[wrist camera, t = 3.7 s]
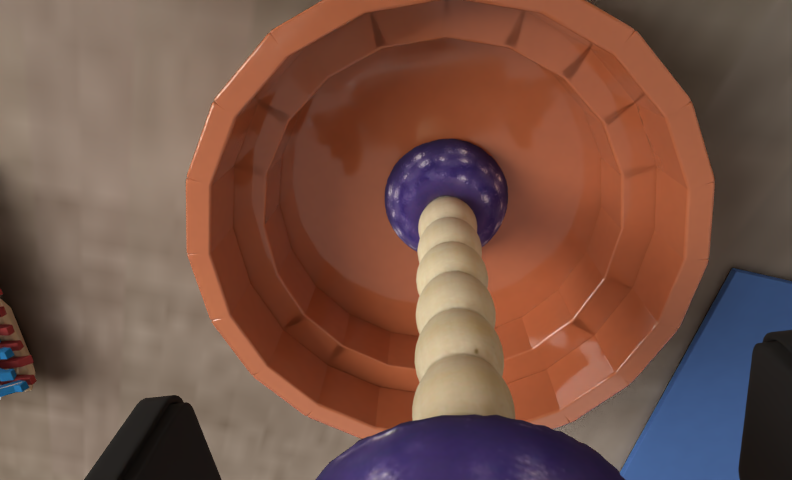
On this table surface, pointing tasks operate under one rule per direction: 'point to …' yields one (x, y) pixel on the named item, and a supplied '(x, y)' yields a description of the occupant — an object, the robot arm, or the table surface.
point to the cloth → (712, 386)
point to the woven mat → (13, 355)
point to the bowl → (503, 255)
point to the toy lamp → (458, 340)
